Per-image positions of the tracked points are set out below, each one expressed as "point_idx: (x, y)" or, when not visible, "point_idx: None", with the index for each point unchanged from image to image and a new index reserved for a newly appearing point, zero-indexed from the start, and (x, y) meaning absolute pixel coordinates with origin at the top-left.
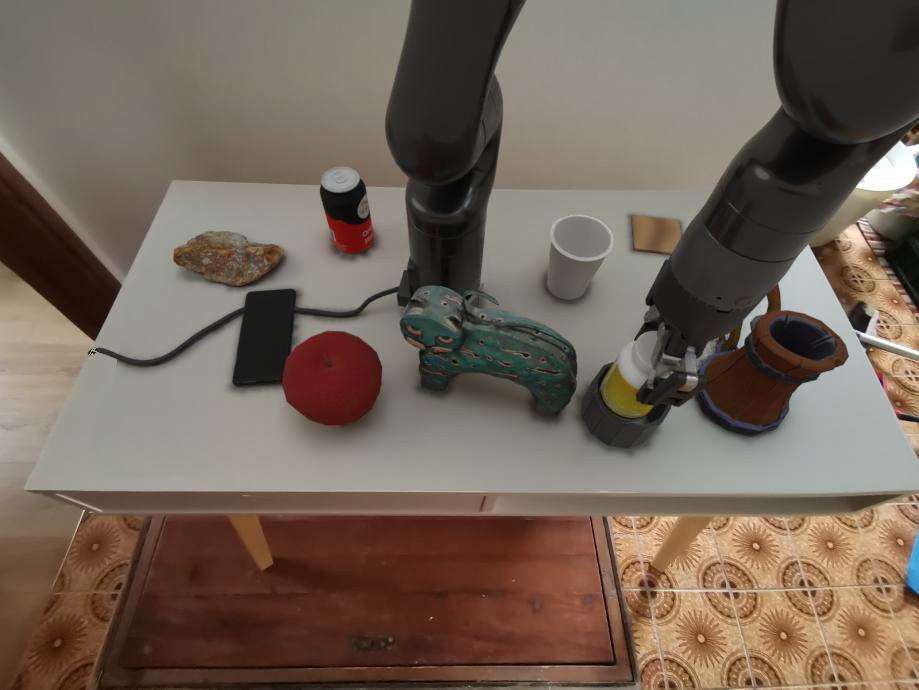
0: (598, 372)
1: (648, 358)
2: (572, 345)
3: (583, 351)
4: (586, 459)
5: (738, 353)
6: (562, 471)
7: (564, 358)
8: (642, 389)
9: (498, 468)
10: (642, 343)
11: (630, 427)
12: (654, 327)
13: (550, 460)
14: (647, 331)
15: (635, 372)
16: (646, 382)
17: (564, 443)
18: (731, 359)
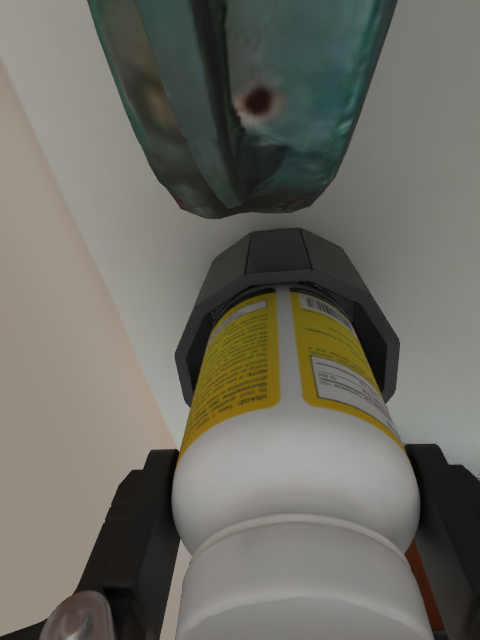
0: (338, 280)
1: (228, 630)
2: (218, 154)
3: (460, 214)
4: (150, 254)
5: (430, 590)
6: (101, 202)
7: (164, 112)
8: (136, 516)
9: (31, 16)
10: (329, 617)
11: (178, 372)
12: (472, 624)
13: (114, 168)
14: (452, 571)
15: (212, 497)
16: (126, 570)
17: (170, 197)
18: (420, 559)
